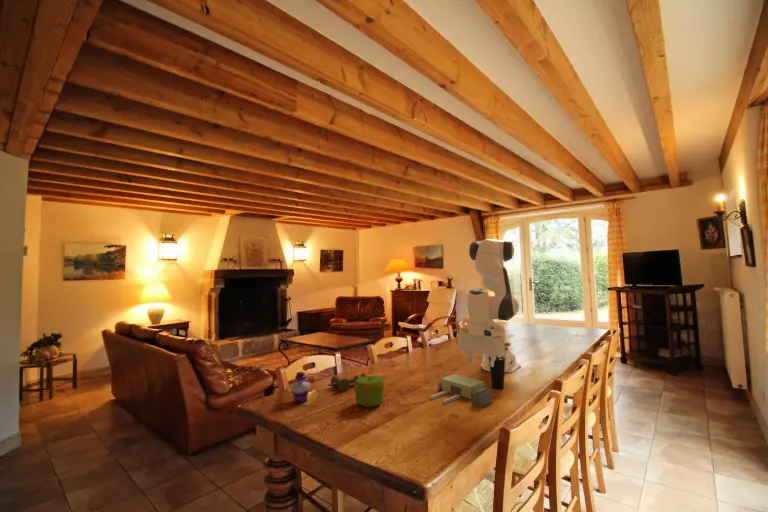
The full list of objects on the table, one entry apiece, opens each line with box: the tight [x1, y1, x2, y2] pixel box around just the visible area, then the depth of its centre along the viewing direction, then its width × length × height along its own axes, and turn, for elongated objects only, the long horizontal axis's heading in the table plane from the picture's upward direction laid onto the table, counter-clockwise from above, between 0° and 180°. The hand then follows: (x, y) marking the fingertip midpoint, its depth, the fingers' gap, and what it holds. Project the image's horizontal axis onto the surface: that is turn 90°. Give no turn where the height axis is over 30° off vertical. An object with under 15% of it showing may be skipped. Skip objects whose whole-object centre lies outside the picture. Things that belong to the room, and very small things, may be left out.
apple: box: [353, 375, 385, 408], centre depth 140 cm, size 12×12×11 cm
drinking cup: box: [488, 356, 506, 391], centre depth 156 cm, size 8×8×20 cm
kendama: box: [327, 372, 367, 393], centre depth 162 cm, size 6×10×20 cm
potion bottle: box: [290, 371, 311, 405], centre depth 146 cm, size 9×9×12 cm
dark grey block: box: [471, 386, 494, 409], centre depth 138 cm, size 8×4×6 cm, turn 129°
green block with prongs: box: [429, 373, 490, 405], centre depth 149 cm, size 22×19×5 cm
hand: (480, 364), depth 138 cm, fingers open, 8 cm apart
